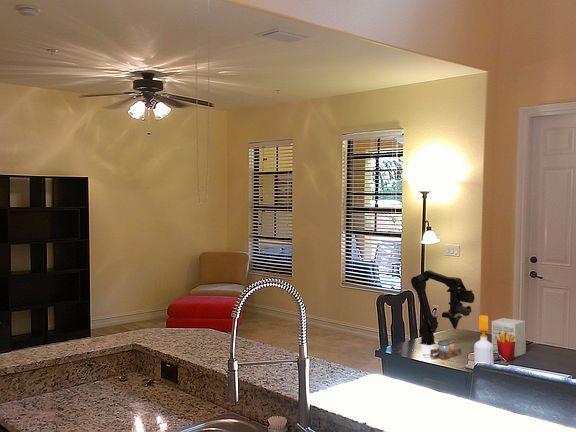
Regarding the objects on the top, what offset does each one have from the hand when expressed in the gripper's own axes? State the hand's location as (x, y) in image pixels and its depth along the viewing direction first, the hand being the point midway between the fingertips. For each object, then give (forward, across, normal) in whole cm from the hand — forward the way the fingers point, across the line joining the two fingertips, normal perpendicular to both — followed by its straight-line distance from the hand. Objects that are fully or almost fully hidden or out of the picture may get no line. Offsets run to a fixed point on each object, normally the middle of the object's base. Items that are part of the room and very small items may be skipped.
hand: (455, 328), depth 321 cm
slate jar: (+11, -18, -5) cm, 21 cm away
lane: (+11, -17, -4) cm, 21 cm away
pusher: (+11, -26, -5) cm, 28 cm away
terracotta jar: (+11, -12, -4) cm, 17 cm away
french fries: (+11, -5, -32) cm, 34 cm away
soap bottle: (+11, -22, -28) cm, 37 cm away
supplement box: (+11, +11, -26) cm, 30 cm away
